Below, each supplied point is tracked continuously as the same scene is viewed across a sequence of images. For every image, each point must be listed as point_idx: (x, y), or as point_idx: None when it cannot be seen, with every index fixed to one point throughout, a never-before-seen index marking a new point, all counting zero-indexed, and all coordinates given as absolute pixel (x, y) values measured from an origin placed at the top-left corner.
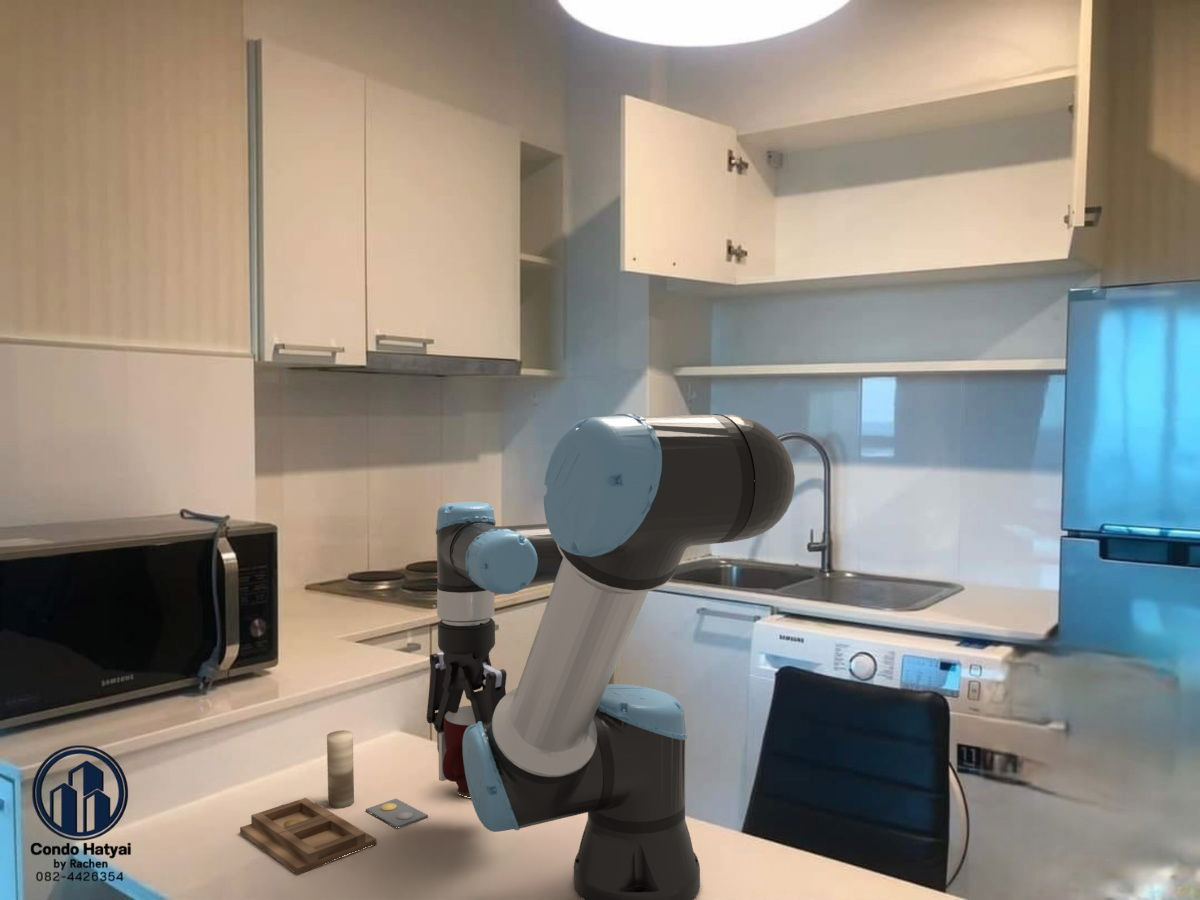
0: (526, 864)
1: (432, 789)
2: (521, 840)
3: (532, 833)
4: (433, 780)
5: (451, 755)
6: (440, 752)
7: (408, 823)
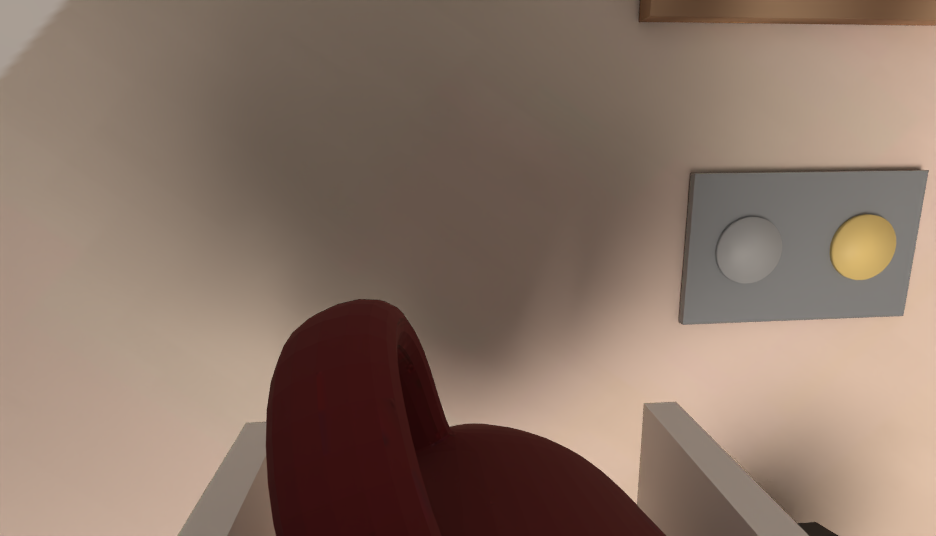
0: (58, 370)
1: (857, 466)
2: None
3: None
4: (914, 509)
5: (278, 437)
6: (760, 516)
7: (687, 228)
